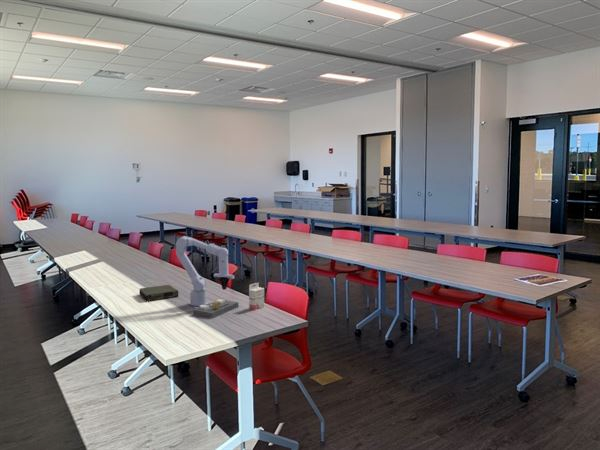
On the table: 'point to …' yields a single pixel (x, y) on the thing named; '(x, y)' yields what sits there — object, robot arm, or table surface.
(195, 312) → the control panel
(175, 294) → the network switch
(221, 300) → the ivory button
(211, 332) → the table surface
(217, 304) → the brass slider
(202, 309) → the grey button
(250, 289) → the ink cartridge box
